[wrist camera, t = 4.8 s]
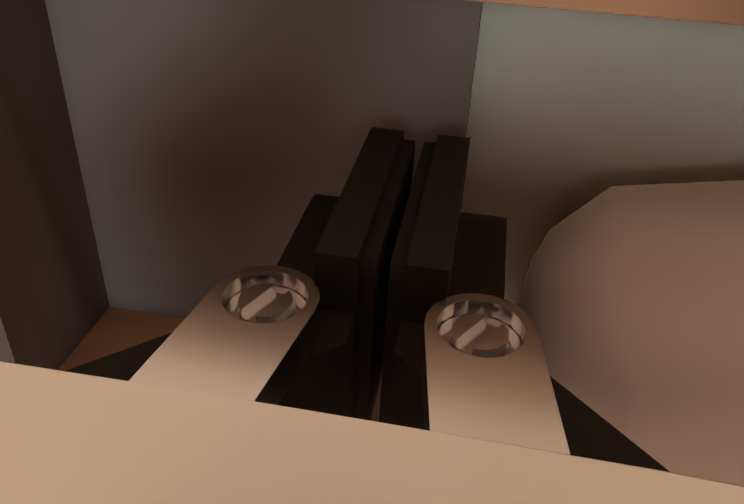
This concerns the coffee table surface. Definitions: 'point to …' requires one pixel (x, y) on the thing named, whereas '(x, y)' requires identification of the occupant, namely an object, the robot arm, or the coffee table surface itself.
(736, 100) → the coffee table surface
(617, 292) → the tube
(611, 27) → the coffee table surface
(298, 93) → the trap channel
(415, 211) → the robot arm
